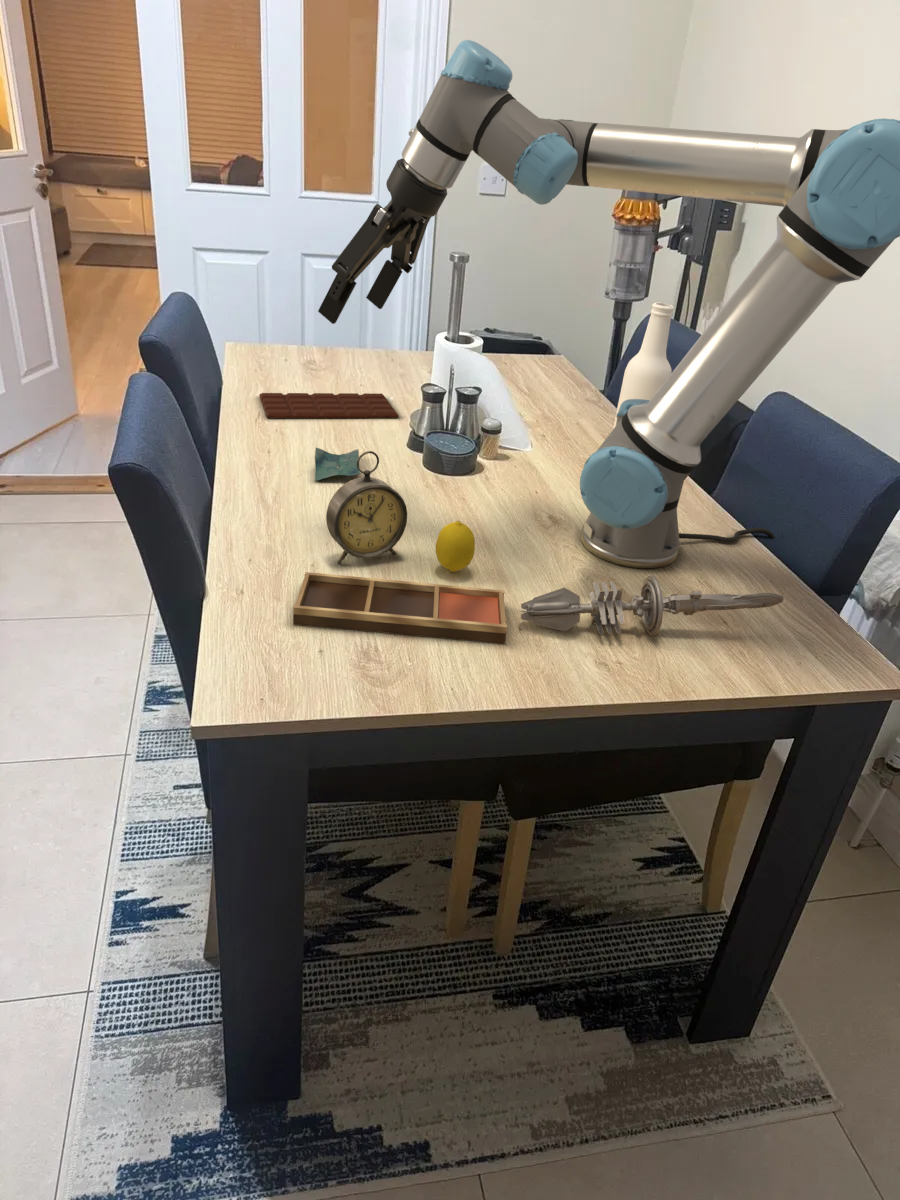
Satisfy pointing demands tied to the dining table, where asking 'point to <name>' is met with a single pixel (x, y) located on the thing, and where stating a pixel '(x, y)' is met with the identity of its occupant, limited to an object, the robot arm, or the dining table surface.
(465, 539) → the lemon
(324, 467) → the terrain model
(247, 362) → the dining table surface
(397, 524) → the alarm clock
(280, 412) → the chocolate bar
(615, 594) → the spaceship
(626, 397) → the alcohol
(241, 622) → the dining table surface
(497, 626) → the wooden compartment tray
